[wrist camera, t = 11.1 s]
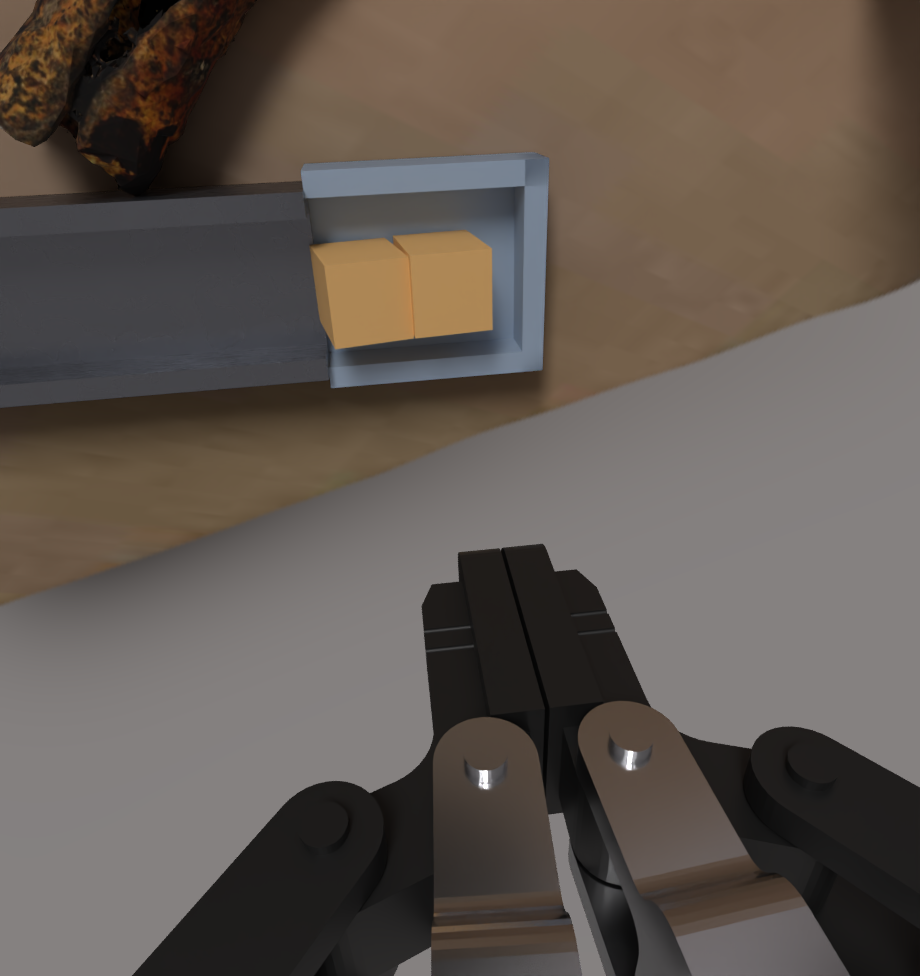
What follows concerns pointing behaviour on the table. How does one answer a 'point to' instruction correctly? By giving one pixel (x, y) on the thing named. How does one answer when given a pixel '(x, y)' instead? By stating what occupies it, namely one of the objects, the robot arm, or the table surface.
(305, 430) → the table surface
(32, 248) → the rail
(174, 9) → the dark wooden branch
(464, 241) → the cardboard box
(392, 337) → the tan cardboard cube
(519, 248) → the tray
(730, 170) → the table surface
